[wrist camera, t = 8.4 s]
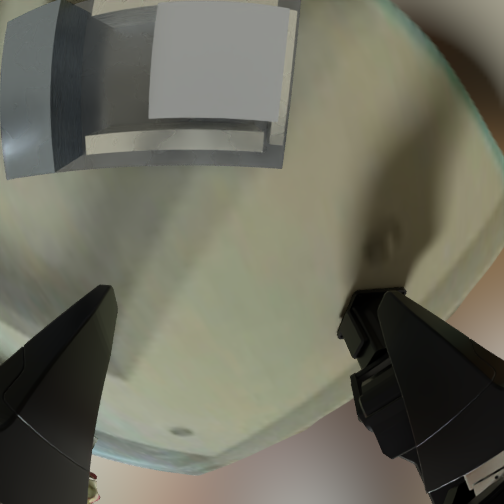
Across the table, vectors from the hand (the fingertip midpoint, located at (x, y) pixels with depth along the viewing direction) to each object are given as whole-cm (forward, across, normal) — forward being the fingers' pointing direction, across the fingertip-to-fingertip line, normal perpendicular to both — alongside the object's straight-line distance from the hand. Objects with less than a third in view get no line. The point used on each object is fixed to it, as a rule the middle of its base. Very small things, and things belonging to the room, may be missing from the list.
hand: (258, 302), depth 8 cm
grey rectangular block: (+11, +2, -7) cm, 13 cm away
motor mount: (+11, +6, -7) cm, 15 cm away
